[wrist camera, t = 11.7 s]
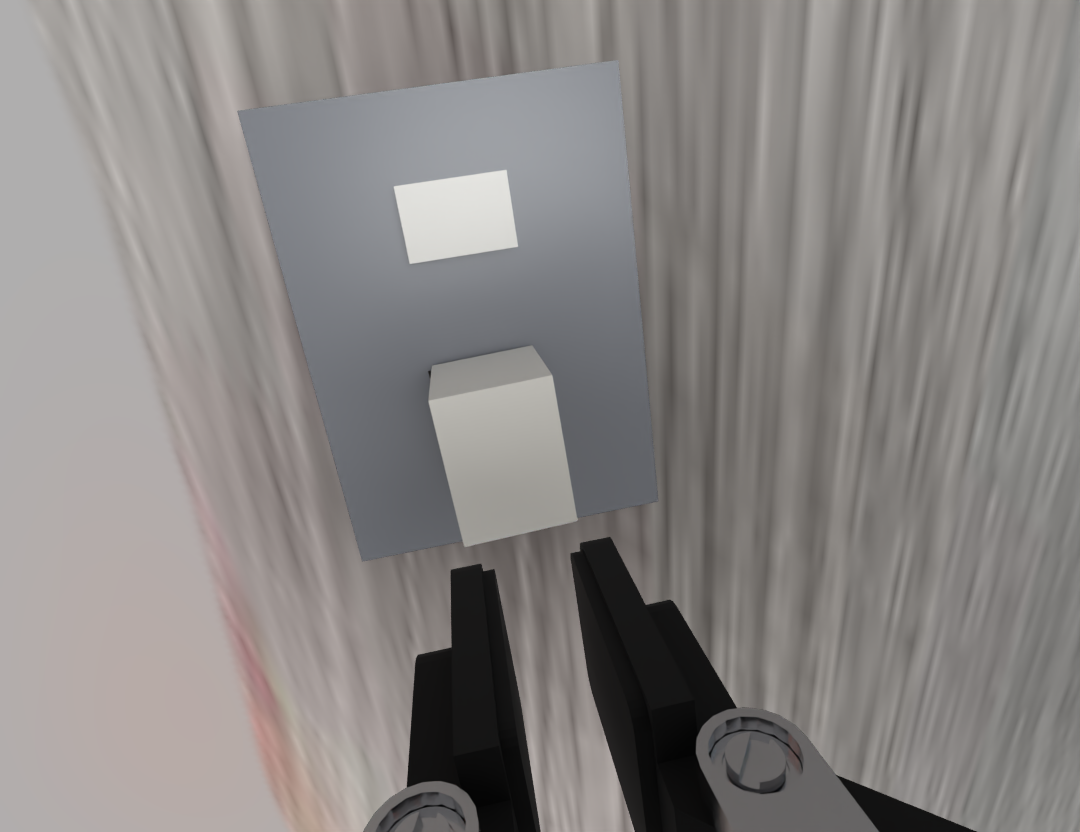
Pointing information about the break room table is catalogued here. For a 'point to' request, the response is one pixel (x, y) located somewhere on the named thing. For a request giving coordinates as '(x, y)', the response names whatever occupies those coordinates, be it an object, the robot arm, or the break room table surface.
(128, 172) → the break room table surface
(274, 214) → the socket plate
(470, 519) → the plug
